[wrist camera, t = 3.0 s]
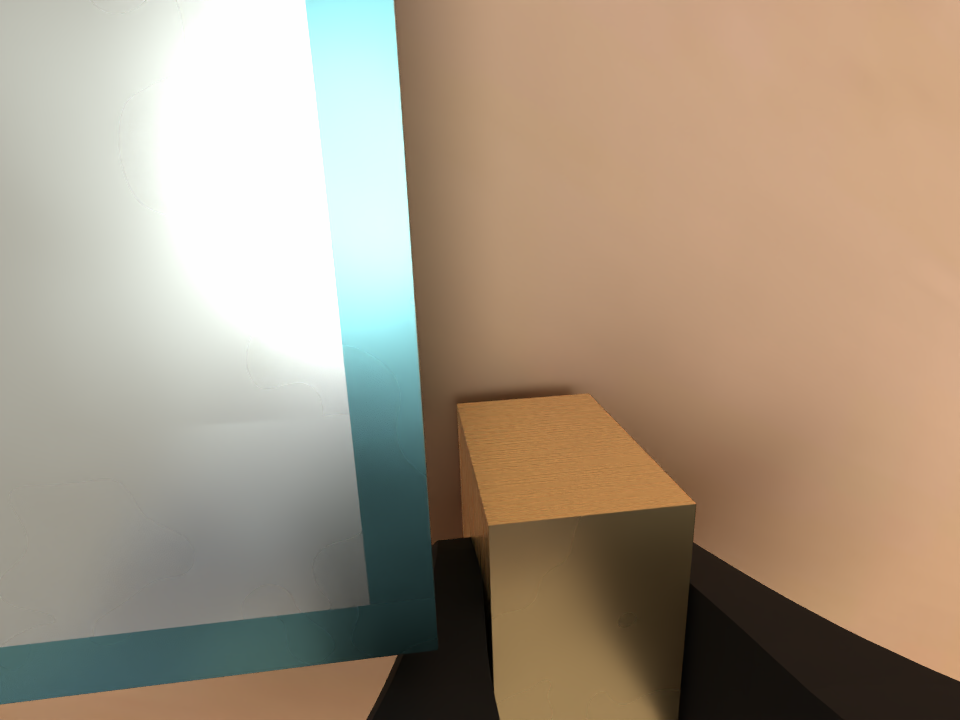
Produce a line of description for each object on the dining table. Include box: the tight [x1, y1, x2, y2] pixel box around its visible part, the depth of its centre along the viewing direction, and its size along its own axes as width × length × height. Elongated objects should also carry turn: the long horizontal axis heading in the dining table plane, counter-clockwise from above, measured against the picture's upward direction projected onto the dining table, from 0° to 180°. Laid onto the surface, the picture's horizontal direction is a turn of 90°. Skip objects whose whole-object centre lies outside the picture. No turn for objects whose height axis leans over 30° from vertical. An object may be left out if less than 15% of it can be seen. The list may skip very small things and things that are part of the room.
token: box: [457, 393, 696, 720], centre depth 9 cm, size 5×2×4 cm, turn 2°
